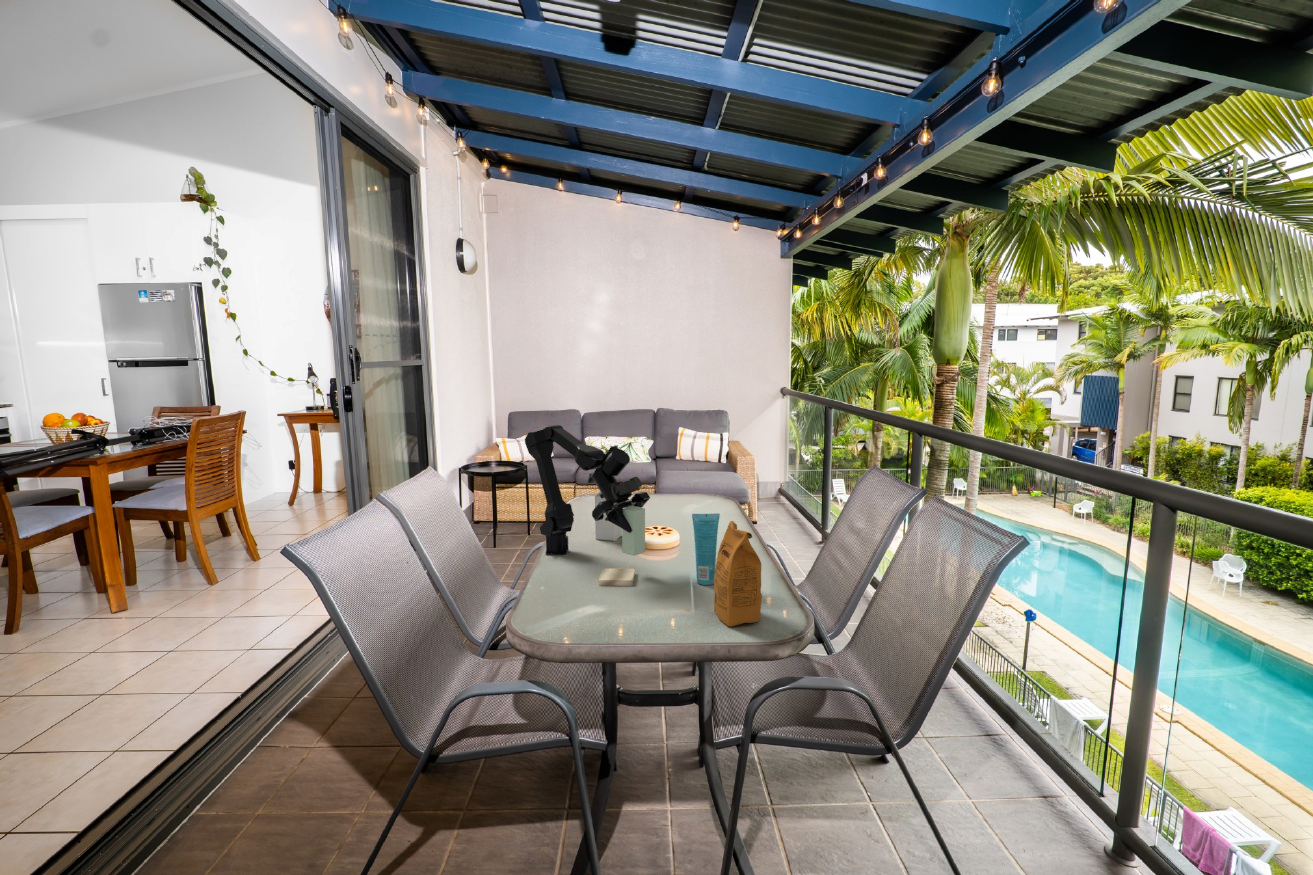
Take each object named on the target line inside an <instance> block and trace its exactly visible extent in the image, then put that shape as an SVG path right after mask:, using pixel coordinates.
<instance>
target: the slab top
mask: <svg viewBox="0 0 1313 875" xmlns="http://www.w3.org/2000/svg"><path fill="white" fill-rule="evenodd" d="M635 575H636V570H635V568H602V569H601V573H600V575H599V578H598V586H633V584H634V580H635Z"/></svg>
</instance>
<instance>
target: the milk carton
mask: <svg viewBox="0 0 1313 875" xmlns="http://www.w3.org/2000/svg"><path fill="white" fill-rule="evenodd" d="M601 494H602V493H601V491H599V492H598V493H597V494H595V496H594V508H595V507H596V506H597V505H598V504H599V502H602V501H606V499H605V498H602V499H601V497H600V495H601ZM603 515H604V517H603V519H602V520H599V521H595V520H594V523H595V524H594V525H595V526H594V527H595V533H594V534H595V540H602V541H603V540H604V541H612V542H613V541H617V540H618V539H619V538H620V537H622V528H620V527H619V526H617V525H615V524H613V523H611V522H609V521H605V519H606V517H607V516H606V513H603Z"/></svg>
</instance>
